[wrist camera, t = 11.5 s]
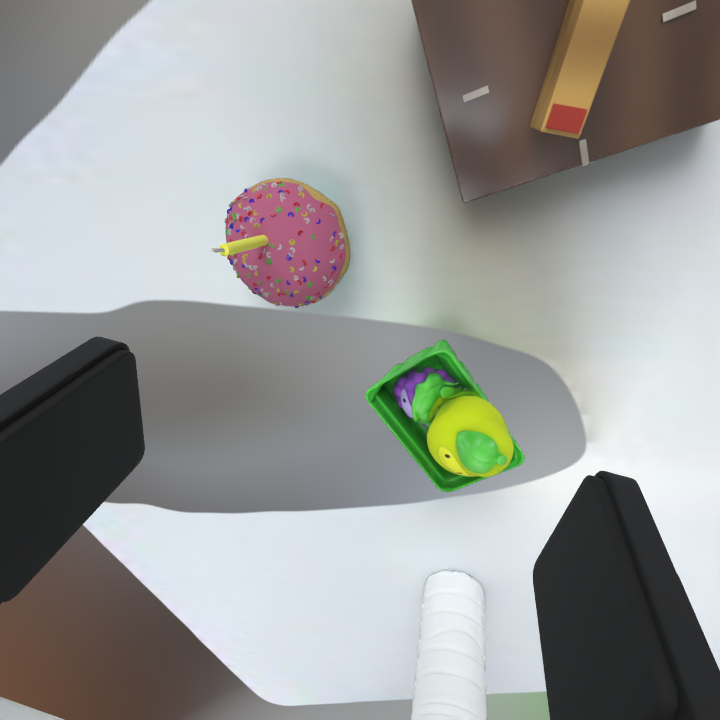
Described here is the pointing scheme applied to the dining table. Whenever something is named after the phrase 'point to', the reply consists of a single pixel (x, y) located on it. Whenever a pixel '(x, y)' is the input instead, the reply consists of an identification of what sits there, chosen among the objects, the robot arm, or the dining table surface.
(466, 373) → the fruit basket
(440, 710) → the water bottle
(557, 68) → the tap handle
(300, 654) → the dining table surface
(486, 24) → the plate
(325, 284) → the cupcake
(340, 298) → the dining table surface
